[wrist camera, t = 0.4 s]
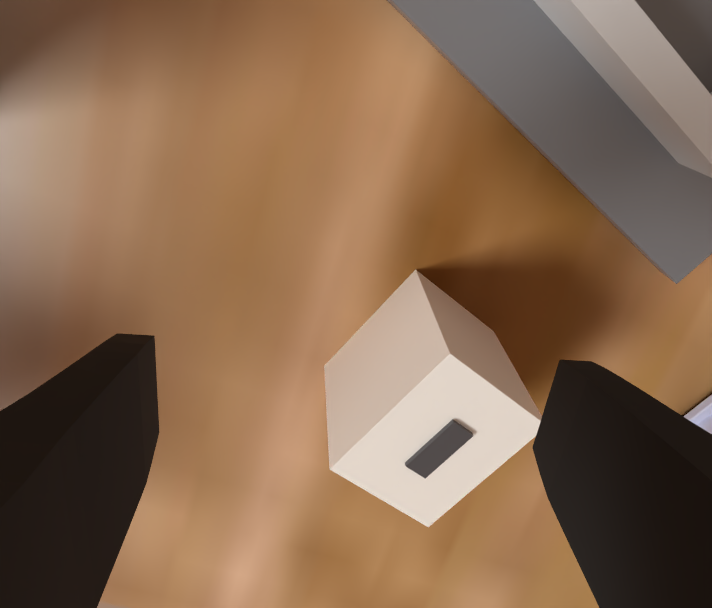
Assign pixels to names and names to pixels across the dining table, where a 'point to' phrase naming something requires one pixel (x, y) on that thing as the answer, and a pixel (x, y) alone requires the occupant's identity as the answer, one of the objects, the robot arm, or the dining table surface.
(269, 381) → the dining table surface
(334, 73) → the dining table surface
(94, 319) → the dining table surface
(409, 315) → the brick
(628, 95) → the outlet plate
